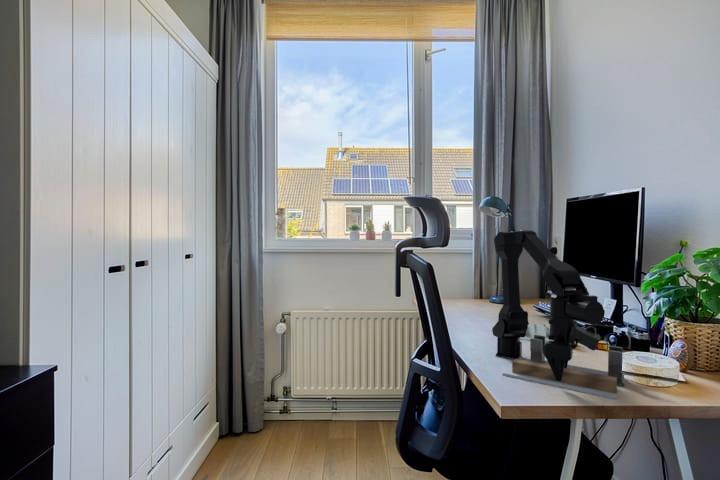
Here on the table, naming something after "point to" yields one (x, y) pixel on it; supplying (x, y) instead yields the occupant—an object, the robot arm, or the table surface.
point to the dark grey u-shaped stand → (613, 367)
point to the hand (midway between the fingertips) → (561, 375)
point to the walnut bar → (566, 376)
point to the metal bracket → (537, 332)
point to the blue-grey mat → (558, 384)
